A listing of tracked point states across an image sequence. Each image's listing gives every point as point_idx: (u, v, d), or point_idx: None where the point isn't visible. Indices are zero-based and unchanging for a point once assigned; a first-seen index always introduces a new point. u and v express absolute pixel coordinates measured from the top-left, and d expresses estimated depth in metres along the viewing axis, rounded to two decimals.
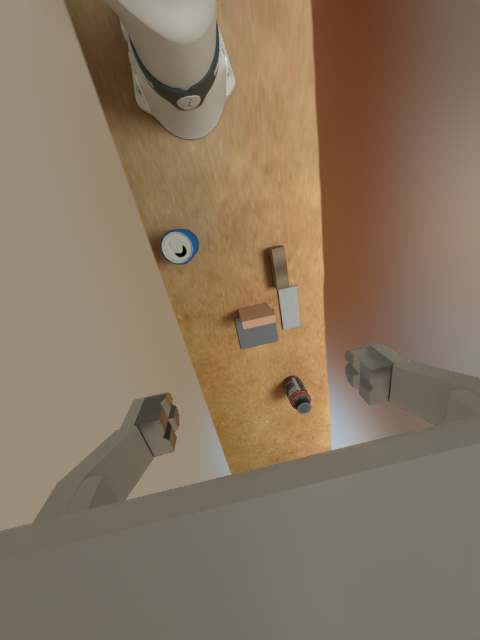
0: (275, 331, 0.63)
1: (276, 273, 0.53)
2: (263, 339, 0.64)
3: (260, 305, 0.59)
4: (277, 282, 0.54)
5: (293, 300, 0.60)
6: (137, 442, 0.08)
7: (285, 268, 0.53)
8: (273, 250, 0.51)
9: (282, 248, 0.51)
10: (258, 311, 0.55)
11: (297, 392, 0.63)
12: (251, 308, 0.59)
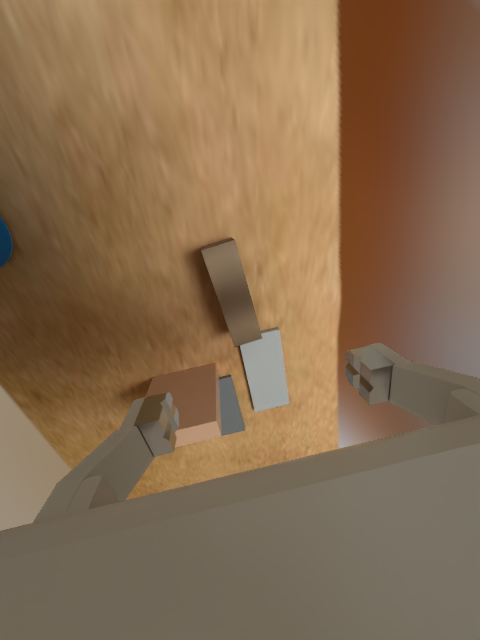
0: (238, 414, 0.31)
1: (225, 309, 0.21)
2: None
3: (199, 371, 0.27)
4: (231, 330, 0.22)
5: (273, 357, 0.28)
6: (137, 442, 0.08)
7: (246, 295, 0.21)
8: (206, 253, 0.19)
9: (230, 245, 0.19)
10: (186, 396, 0.23)
11: None
12: (177, 378, 0.26)
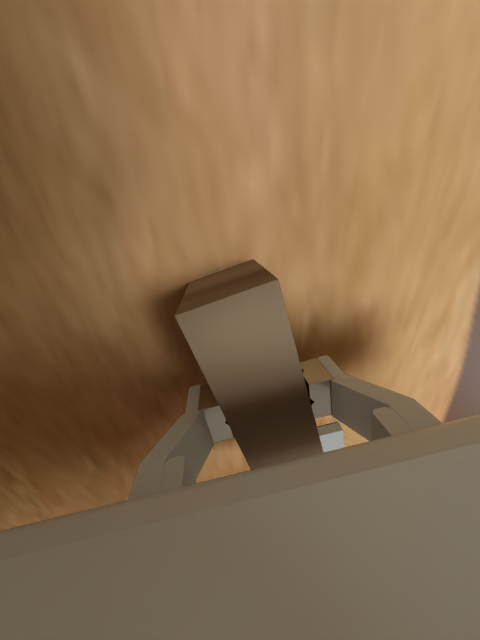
0: None
1: (247, 446, 0.08)
2: None
3: None
4: None
5: None
6: (202, 427, 0.08)
7: (303, 413, 0.08)
8: (191, 321, 0.06)
9: (264, 296, 0.06)
10: None
11: None
12: None
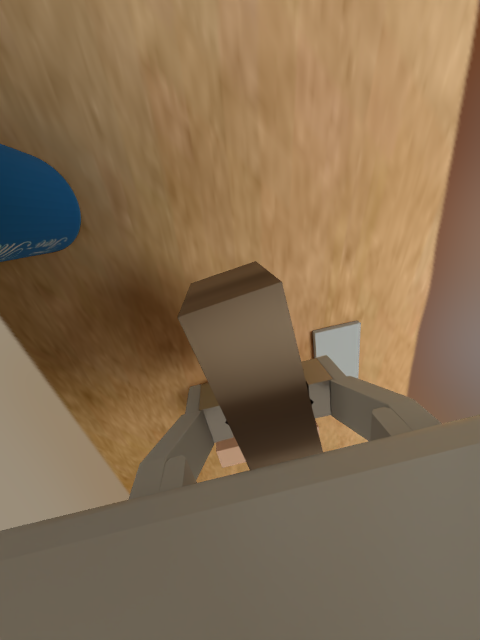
0: None
1: (248, 447, 0.08)
2: None
3: None
4: None
5: (349, 354, 0.25)
6: (202, 427, 0.08)
7: (303, 415, 0.08)
8: (194, 323, 0.06)
9: (267, 298, 0.06)
10: None
11: None
12: None
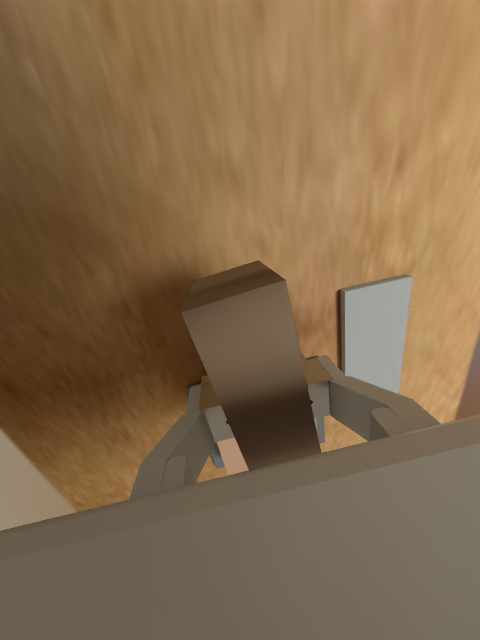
0: (319, 419, 0.20)
1: (247, 446, 0.08)
2: None
3: None
4: None
5: (392, 326, 0.17)
6: (203, 426, 0.08)
7: (303, 414, 0.08)
8: (197, 319, 0.06)
9: (271, 296, 0.06)
10: None
11: None
12: None
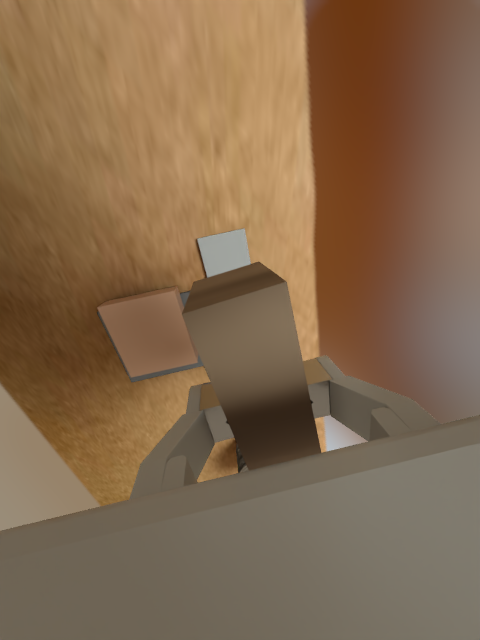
0: None
1: (247, 447, 0.08)
2: None
3: (159, 304, 0.23)
4: None
5: None
6: (203, 426, 0.08)
7: (303, 416, 0.08)
8: (198, 320, 0.06)
9: (272, 298, 0.06)
10: (159, 338, 0.24)
11: None
12: (135, 312, 0.23)
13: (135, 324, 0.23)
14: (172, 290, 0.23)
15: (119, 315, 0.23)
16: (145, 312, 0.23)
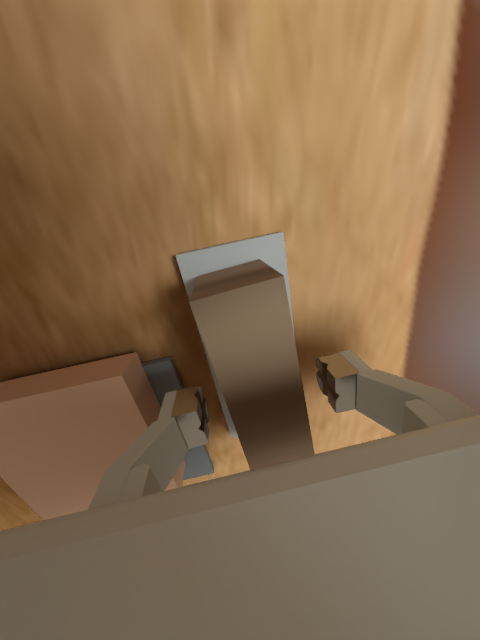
0: None
1: (243, 429, 0.09)
2: None
3: (89, 403, 0.10)
4: (254, 463, 0.10)
5: None
6: (174, 433, 0.08)
7: (296, 401, 0.09)
8: (203, 308, 0.07)
9: (270, 290, 0.07)
10: (98, 463, 0.12)
11: None
12: (35, 421, 0.10)
13: (40, 442, 0.11)
14: (119, 372, 0.10)
15: None
16: (59, 419, 0.10)
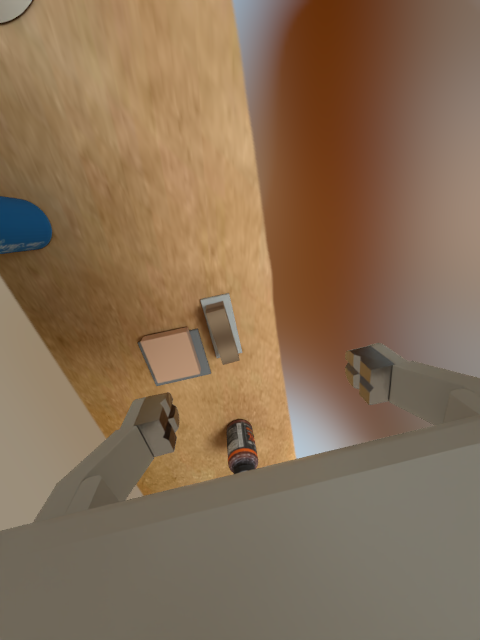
0: (205, 360, 0.43)
1: (217, 344, 0.37)
2: None
3: (177, 339, 0.38)
4: (221, 355, 0.38)
5: None
6: (137, 442, 0.08)
7: (230, 336, 0.36)
8: (208, 314, 0.35)
9: (221, 311, 0.35)
10: (176, 359, 0.39)
11: (237, 450, 0.43)
12: (162, 344, 0.38)
13: (162, 351, 0.38)
14: (185, 331, 0.38)
15: (153, 346, 0.38)
16: (168, 344, 0.38)
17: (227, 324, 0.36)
